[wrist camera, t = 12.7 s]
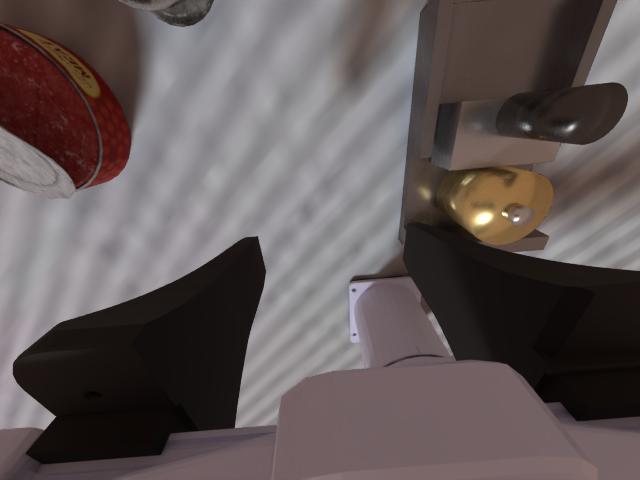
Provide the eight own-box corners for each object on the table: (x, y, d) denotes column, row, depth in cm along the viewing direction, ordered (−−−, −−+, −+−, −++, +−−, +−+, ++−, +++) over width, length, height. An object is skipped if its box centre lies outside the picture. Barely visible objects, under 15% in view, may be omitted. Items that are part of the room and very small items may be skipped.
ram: (520, 155, 18) (636, 177, 12) (430, 163, 18) (497, 189, 12) (540, 91, 16) (695, 74, 10) (439, 100, 16) (526, 90, 10)
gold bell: (489, 213, 20) (551, 247, 15) (432, 220, 21) (475, 256, 15) (504, 154, 18) (583, 170, 13) (440, 163, 18) (493, 182, 13)
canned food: (167, 144, 22) (140, 225, 17) (54, 158, 21) (-14, 247, 16) (51, -40, 13) (-100, 4, 7) (-158, -28, 12) (-511, 30, 6)
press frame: (500, 230, 22) (541, 255, 18) (398, 239, 22) (417, 265, 19) (577, -2, 15) (676, -46, 11) (420, 12, 15) (460, -26, 11)
